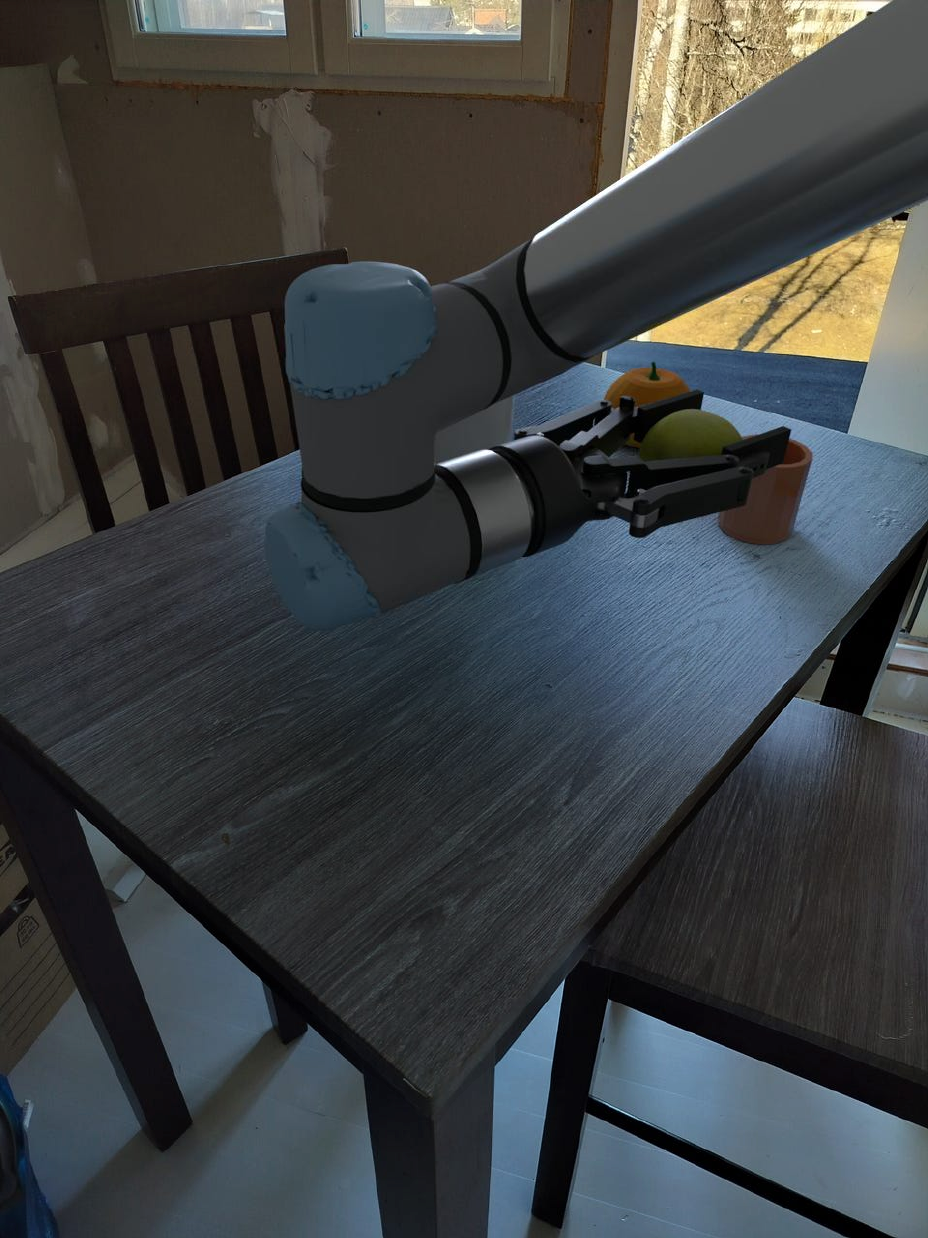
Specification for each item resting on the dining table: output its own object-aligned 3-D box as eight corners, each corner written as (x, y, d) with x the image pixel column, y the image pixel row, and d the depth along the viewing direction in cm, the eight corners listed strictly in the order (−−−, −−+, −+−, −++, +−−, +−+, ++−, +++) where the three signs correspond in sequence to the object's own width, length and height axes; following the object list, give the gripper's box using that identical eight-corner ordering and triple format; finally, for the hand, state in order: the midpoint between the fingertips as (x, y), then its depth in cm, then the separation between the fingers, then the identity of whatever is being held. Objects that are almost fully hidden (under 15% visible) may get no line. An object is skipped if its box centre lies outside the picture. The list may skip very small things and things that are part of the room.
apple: (609, 516, 66) (620, 419, 62) (665, 475, 72) (679, 384, 67) (700, 550, 62) (720, 449, 58) (752, 503, 68) (774, 408, 63)
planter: (525, 549, 88) (535, 384, 78) (338, 561, 86) (323, 394, 76) (493, 465, 104) (498, 318, 93) (334, 474, 101) (320, 324, 91)
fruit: (580, 438, 110) (587, 362, 104) (631, 412, 117) (641, 340, 111) (657, 467, 104) (670, 388, 98) (706, 437, 111) (721, 362, 105)
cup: (803, 524, 93) (825, 449, 88) (771, 552, 88) (792, 474, 83) (738, 501, 97) (755, 427, 92) (704, 526, 93) (720, 450, 87)
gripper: (419, 493, 64) (638, 424, 75) (603, 630, 51) (839, 523, 61) (417, 398, 60) (650, 339, 70) (618, 521, 46) (870, 425, 57)
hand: (738, 425), depth 66 cm, fingers closed on apple, 8 cm apart
